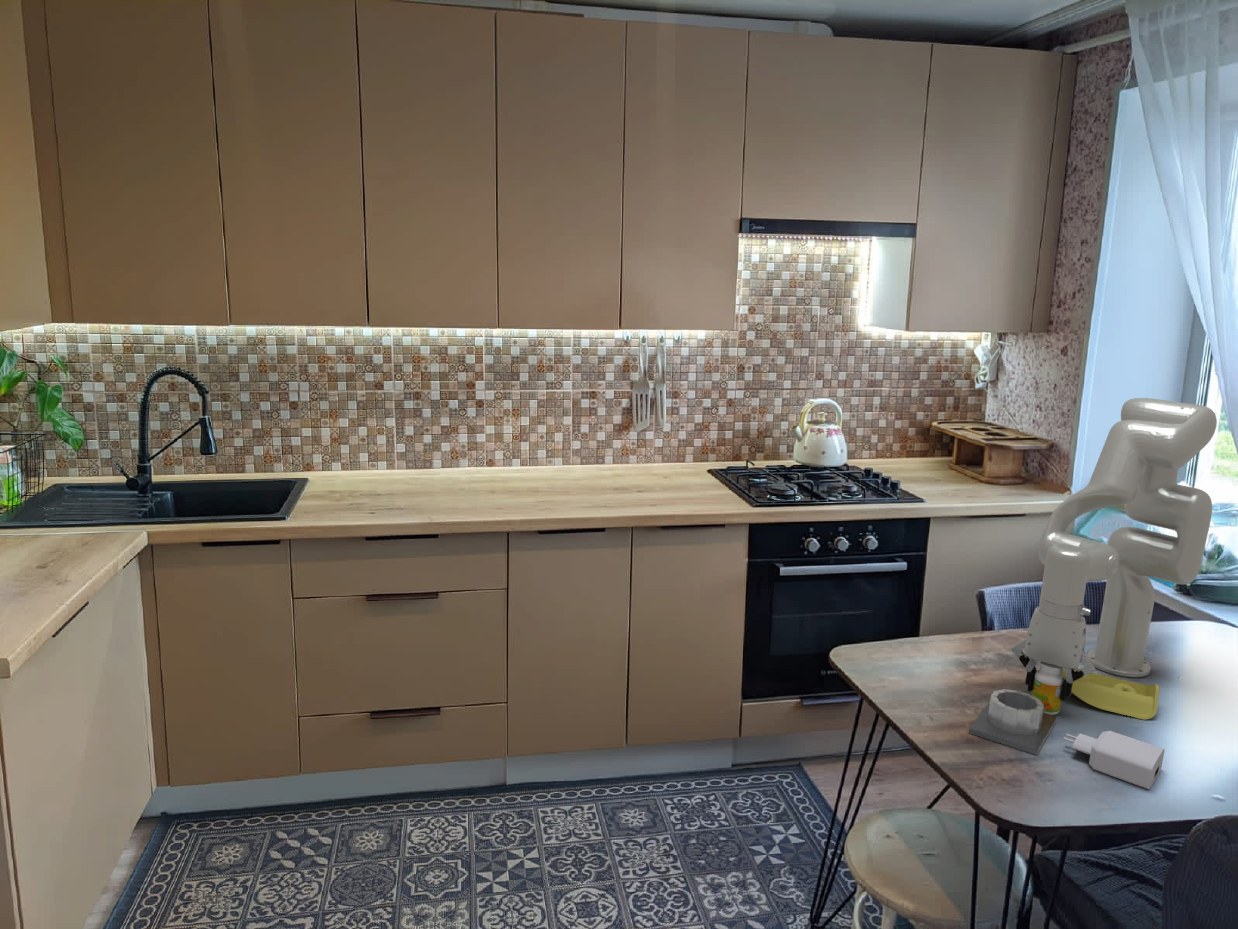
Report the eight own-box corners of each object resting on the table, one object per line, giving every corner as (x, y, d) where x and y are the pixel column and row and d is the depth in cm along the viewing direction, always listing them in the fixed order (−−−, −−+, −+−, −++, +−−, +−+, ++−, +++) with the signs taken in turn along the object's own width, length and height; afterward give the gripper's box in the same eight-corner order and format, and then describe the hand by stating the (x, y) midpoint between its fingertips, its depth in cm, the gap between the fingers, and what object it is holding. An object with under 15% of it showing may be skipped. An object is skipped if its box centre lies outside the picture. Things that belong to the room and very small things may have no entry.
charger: (1070, 739, 169) (1161, 771, 159) (1054, 758, 162) (1148, 792, 152) (1074, 716, 168) (1165, 746, 158) (1058, 734, 161) (1153, 767, 151)
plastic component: (1147, 685, 186) (1161, 685, 177) (1142, 721, 185) (1155, 722, 176) (1044, 661, 193) (1052, 659, 184) (1038, 695, 192) (1046, 695, 182)
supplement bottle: (1024, 706, 180) (1030, 661, 178) (1040, 700, 183) (1047, 656, 181) (1048, 718, 176) (1056, 672, 174) (1065, 711, 179) (1072, 666, 177)
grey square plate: (992, 702, 182) (995, 676, 181) (1056, 721, 175) (1060, 695, 174) (968, 733, 169) (972, 706, 168) (1036, 755, 162) (1040, 727, 161)
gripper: (1112, 614, 173) (1098, 700, 177) (1018, 592, 183) (1006, 674, 187) (1105, 625, 167) (1090, 714, 171) (1008, 602, 177) (996, 687, 181)
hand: (1047, 692), depth 179 cm, fingers closed on supplement bottle, 5 cm apart
